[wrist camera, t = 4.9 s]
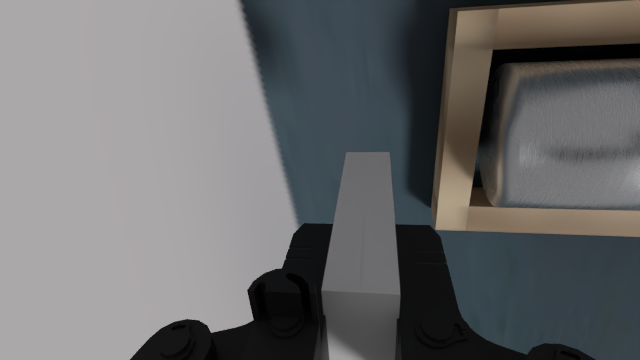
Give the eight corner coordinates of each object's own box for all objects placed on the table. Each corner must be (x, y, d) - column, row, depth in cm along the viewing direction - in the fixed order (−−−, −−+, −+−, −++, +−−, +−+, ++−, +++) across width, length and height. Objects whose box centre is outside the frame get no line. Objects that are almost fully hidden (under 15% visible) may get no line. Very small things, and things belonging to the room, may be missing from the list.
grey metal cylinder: (473, 177, 19) (510, 234, 14) (487, 58, 17) (538, 70, 11) (690, 179, 17) (832, 246, 12) (737, 48, 15) (938, 56, 10)
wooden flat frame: (449, 8, 16) (458, 11, 14) (808, -15, 14) (870, -15, 12) (430, 208, 21) (435, 229, 19) (691, 215, 18) (723, 239, 17)
